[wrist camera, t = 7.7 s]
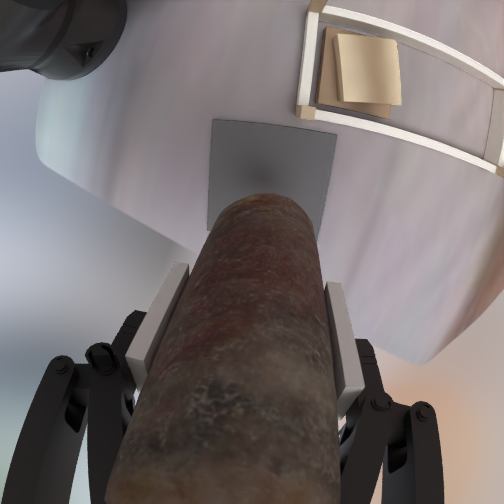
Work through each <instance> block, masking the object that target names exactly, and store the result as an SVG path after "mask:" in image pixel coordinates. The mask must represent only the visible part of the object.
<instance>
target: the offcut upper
mask: <svg viewBox="0 0 504 504" xmlns="http://www.w3.org/2000/svg"><path fill="white" fill-rule="evenodd" d="M332 44H333V52H334V62H335V72H336V84H337V98H338V101H341V102H365V103H380V104H392V105H401V84H400V70H399V59H398V50H397V42H396V40H393V39H386V38H379V37H371V36H361V35H350V34H337V35H336V36H335V37H334V38H333V39H332Z"/></svg>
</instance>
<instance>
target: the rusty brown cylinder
mask: <svg viewBox="0 0 504 504" xmlns="http://www.w3.org/2000/svg"><path fill="white" fill-rule="evenodd" d="M340 478H341V473H340V449H339V432H338V413H337V396H336V389H335V381H334V371H333V358H332V350H331V343H330V334H329V326H328V318H327V311H326V304H325V296H324V288H323V281H322V275H321V268H320V261H319V254H318V249H317V243H316V238H315V233H314V228H313V224H312V221H311V219H310V218H309V216H308V215H307V214H306V212H305V211H304V210H303V209H302V208H301V207H300V206H299V205H298V204H297V203H296V202H294V201H293V200H292V199H290V198H288V197H285V196H282V195H279V194H277V193H257V194H252V195H250V196H247V197H245V198H242V199H239V200H237V201H235V202H233V203H232V204H230V205H229V206H228V207H226V208H225V209H224V210H223V211H222V212H221V213H220V215H219V216H218V218H217V220H216V222H215V223H214V225H213V228H212V230H211V232H210V234H209V236H208V238H207V240H206V242H205V244H204V246H203V248H202V250H201V252H200V255H199V257H198V259H197V261H196V263H195V265H194V268H193V270H192V272H191V274H190V277H189V279H188V281H187V283H186V286H185V288H184V290H183V293H182V295H181V297H180V299H179V302H178V304H177V306H176V308H175V310H174V313H173V315H172V317H171V320H170V322H169V325H168V327H167V329H166V332H165V334H164V336H163V338H162V341H161V343H160V345H159V348H158V350H157V352H156V354H155V357H154V360H153V362H152V365H151V367H150V370H149V372H148V375H147V377H146V380H145V382H144V384H143V387H142V389H141V392H140V394H139V397H138V400H137V403H136V406H135V409H134V412H133V415H132V417H131V420H130V422H129V425H128V427H127V430H126V433H125V435H124V438H123V440H122V443H121V446H120V448H119V451H118V454H117V457H116V460H115V463H114V466H113V468H112V471H111V474H110V477H109V481H108V484H107V489H106V494H105V498H104V500H105V502H106V504H340V499H341V479H340Z"/></svg>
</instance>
